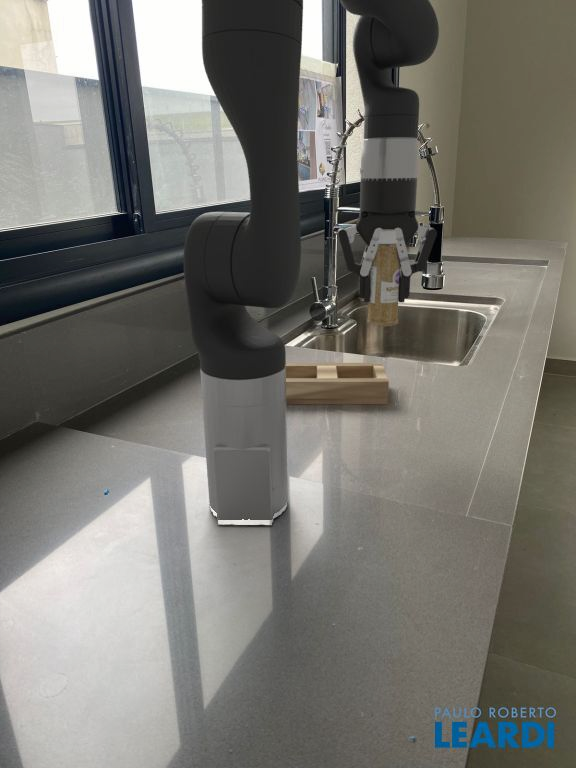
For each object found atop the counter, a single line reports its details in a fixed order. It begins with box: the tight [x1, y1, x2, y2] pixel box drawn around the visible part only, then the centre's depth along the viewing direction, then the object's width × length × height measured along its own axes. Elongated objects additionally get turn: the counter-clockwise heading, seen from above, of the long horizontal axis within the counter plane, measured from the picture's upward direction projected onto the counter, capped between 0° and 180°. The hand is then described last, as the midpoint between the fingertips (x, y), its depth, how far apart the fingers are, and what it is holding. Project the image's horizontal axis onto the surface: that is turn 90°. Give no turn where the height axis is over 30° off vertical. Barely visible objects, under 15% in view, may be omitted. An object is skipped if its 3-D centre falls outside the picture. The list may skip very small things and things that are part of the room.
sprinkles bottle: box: [366, 229, 401, 327], centre depth 86 cm, size 5×5×13 cm
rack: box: [286, 362, 390, 405], centre depth 105 cm, size 10×20×4 cm, turn 88°
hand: (383, 300), depth 87 cm, fingers closed on sprinkles bottle, 4 cm apart
